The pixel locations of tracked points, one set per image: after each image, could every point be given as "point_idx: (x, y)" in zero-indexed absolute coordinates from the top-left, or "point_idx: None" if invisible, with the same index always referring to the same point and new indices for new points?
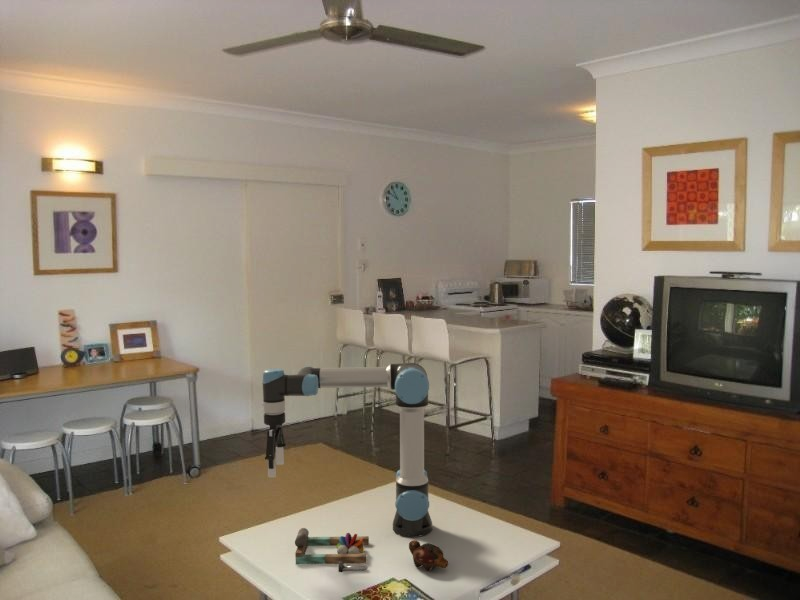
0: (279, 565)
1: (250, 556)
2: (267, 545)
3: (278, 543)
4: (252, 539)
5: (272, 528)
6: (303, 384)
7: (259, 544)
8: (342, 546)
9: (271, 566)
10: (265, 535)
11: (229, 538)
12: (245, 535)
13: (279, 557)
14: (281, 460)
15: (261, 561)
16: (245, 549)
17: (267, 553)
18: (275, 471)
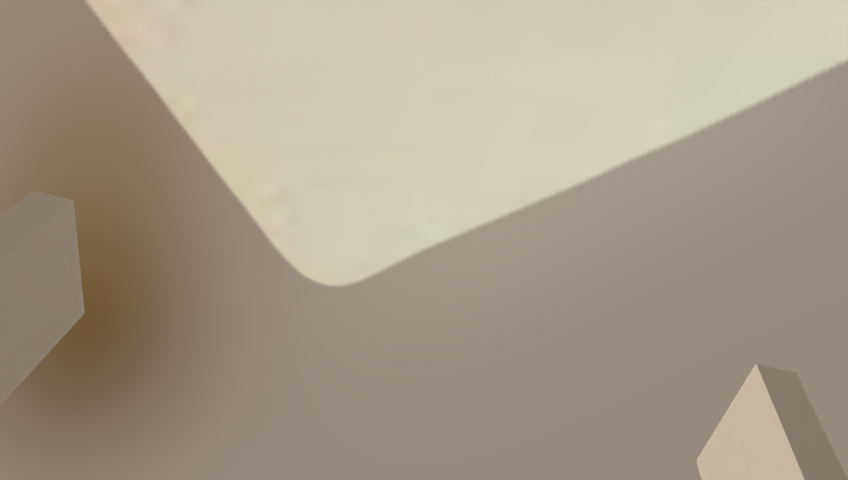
0: (791, 5)
1: (589, 176)
2: (462, 79)
3: (447, 8)
4: (359, 164)
5: (209, 45)
6: None
7: (437, 126)
8: None
9: (781, 58)
10: (312, 90)
11: (329, 274)
12: (300, 199)
13: (668, 4)
14: (23, 284)
15: (682, 117)
16: (487, 200)
17: (580, 80)
18: (836, 462)
